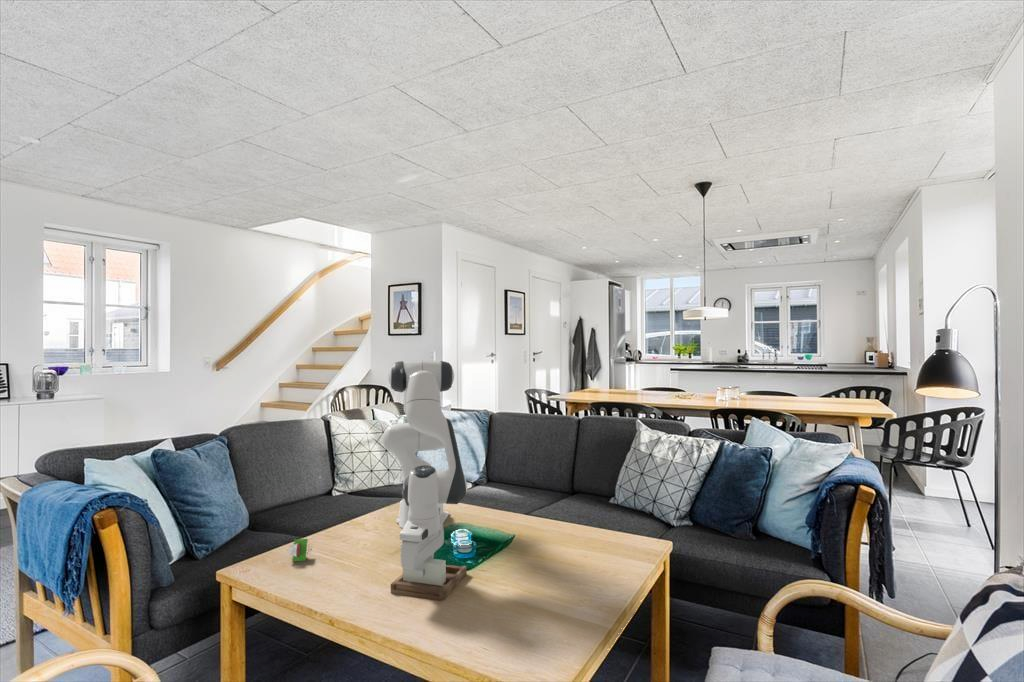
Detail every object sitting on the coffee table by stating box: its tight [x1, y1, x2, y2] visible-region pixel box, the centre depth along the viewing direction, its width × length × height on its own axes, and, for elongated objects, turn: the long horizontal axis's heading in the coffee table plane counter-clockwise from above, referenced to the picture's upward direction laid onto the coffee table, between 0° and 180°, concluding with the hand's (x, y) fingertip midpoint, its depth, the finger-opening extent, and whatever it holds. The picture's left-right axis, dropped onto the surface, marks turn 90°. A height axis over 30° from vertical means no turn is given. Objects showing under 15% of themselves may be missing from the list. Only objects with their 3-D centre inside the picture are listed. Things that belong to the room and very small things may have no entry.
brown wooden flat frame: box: [390, 564, 468, 602], centre depth 159 cm, size 17×16×2 cm
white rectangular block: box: [402, 558, 447, 586], centre depth 155 cm, size 3×12×6 cm, turn 73°
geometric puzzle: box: [287, 538, 313, 562], centre depth 176 cm, size 7×7×8 cm
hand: (424, 572), depth 155 cm, fingers closed on white rectangular block, 3 cm apart
